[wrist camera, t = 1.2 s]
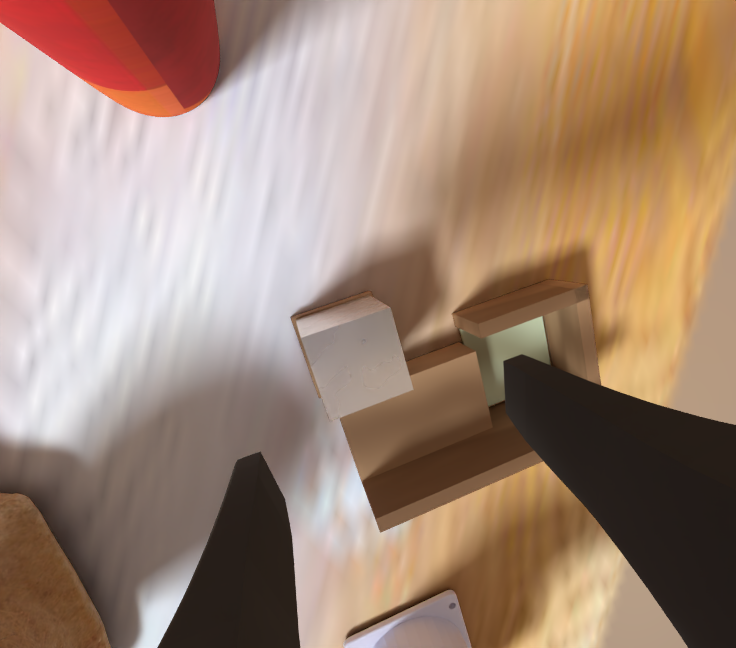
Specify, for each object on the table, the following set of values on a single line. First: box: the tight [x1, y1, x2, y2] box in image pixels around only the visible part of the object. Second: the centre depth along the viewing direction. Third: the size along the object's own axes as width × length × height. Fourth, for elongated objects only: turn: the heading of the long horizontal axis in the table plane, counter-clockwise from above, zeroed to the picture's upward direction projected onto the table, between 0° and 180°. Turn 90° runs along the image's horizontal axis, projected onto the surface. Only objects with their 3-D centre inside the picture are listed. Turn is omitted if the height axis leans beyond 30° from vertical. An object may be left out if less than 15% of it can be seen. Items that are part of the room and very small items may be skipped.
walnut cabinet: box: [291, 279, 601, 533], centre depth 21 cm, size 10×15×5 cm
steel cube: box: [296, 295, 413, 421], centre depth 19 cm, size 4×4×4 cm
